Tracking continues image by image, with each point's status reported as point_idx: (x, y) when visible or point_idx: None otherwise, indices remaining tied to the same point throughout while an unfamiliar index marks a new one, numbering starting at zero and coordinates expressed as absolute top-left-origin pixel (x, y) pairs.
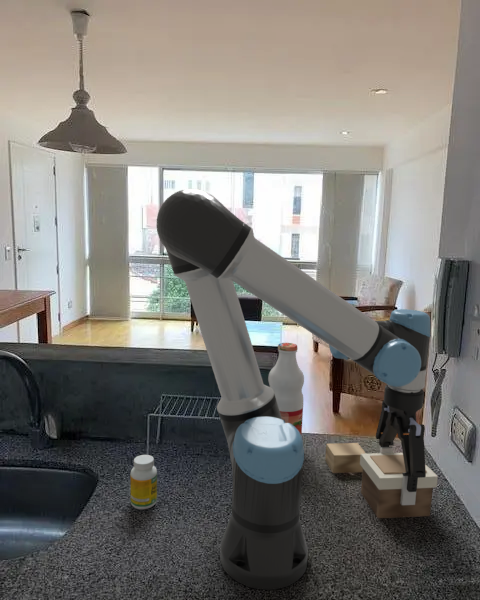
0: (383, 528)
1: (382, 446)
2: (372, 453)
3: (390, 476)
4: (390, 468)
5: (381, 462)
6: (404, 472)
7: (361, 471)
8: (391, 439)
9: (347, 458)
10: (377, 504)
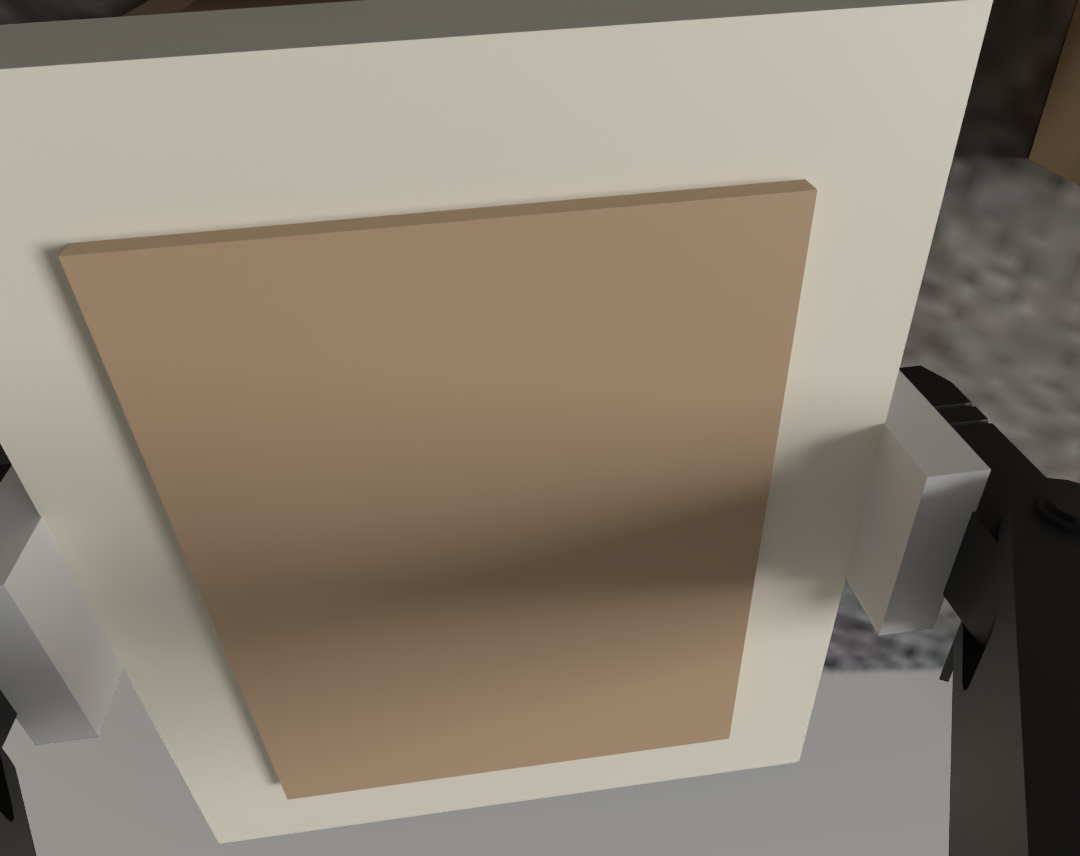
0: (43, 7)
1: (994, 509)
2: (922, 274)
3: (5, 339)
4: (281, 422)
5: (508, 331)
6: (11, 604)
7: (1064, 121)
8: (964, 756)
9: None
10: (167, 13)
